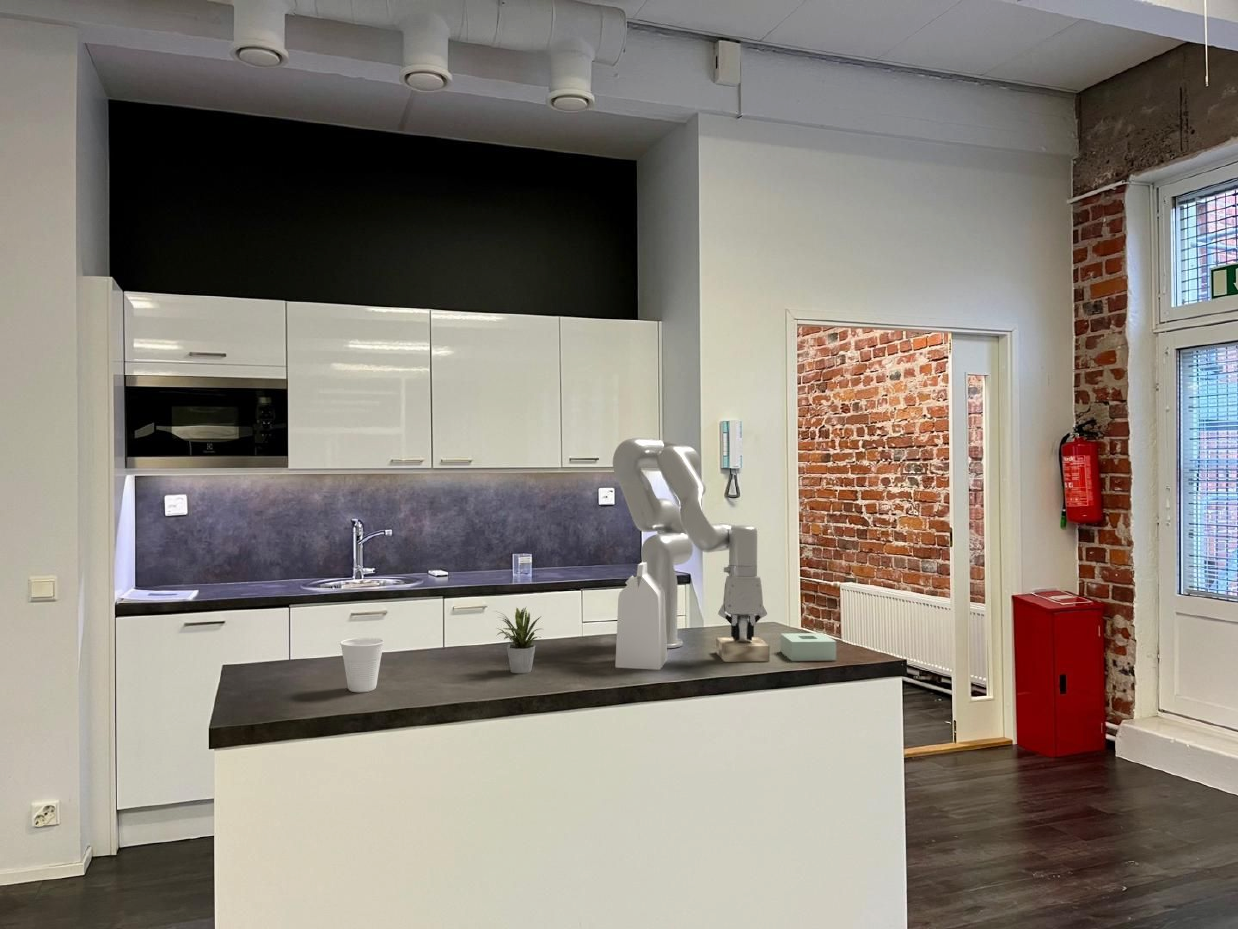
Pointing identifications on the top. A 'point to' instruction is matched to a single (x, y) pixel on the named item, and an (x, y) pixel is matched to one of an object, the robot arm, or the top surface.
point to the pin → (742, 628)
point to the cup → (362, 662)
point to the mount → (742, 650)
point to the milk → (641, 623)
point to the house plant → (520, 643)
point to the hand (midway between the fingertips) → (742, 639)
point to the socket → (807, 646)
